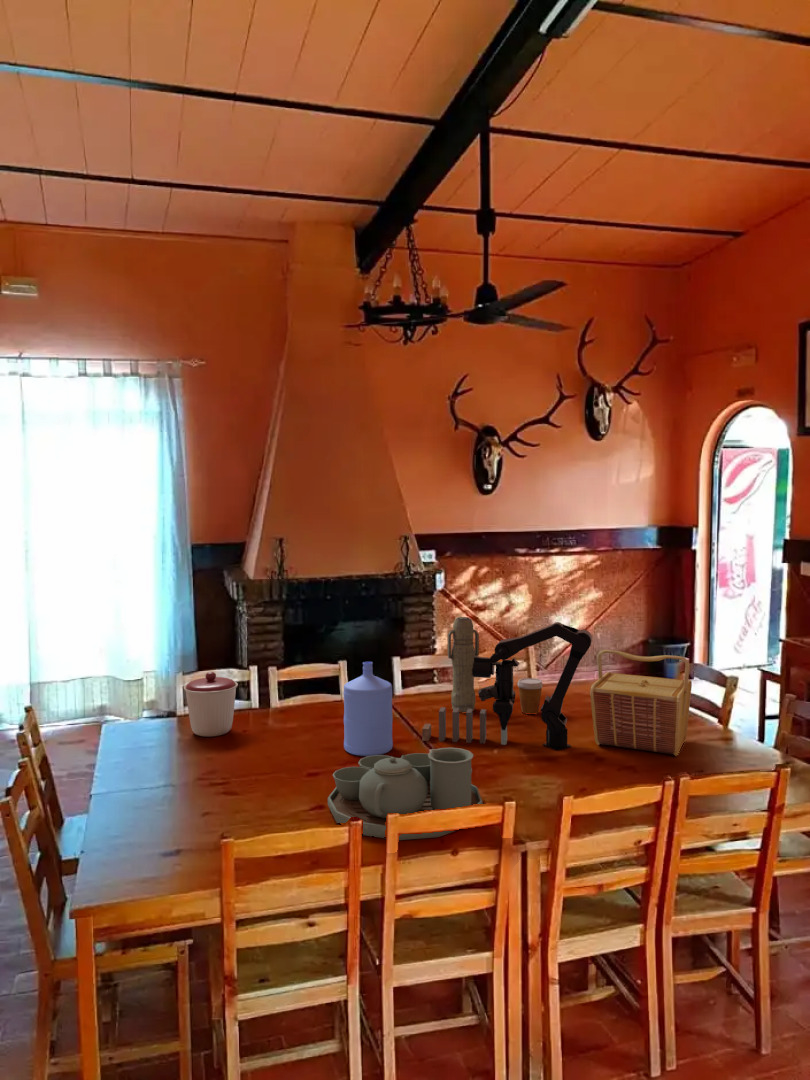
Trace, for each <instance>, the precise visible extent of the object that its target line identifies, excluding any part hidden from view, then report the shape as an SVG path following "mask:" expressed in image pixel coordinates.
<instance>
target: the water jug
mask: <svg viewBox="0 0 810 1080" xmlns="http://www.w3.org/2000/svg"><path fill="white" fill-rule="evenodd" d="M373 664H374V663H373V661H363V662H362V665H363V666H362V674H361V675H360V676H357V677H356V678H354V679H352V680H350V681H348V682H346V683H344V685H343V705H344V706H343V708H344V709H343V710H344V711H343V712H344V713H343V725H344V727H343V728H344V730H343V733H344V736H343V737H344V739H343V749H344V750H345V751H346V752H347V753H349V754H351V755H355V756H358V757H359V756H360V757H367V756H373V755H384V754H386V753H389V752H390V751H391V750H392V749H393V746H394V742H393V740H394V739H393V718H394V717H393V685H392V683H391V682H389V681H388V680H385V679H383V678H381V677H379V676H377V675H376V676H375V674H374V673H373V668H374V667H373Z"/></svg>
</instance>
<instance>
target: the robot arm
mask: <svg viewBox="0 0 810 1080" xmlns="http://www.w3.org/2000/svg"><path fill="white" fill-rule="evenodd" d="M556 637H557V638H559V639H561V640H563V641H565V642H566V643H569V644H571V647H570V651H569V655H568V659H567V661H566V663H565V665H564V667H563V670H562V673H561V675H560V677H559V679H558V681H557V683H556V686H555V688H554V691H553V692H552V694H551V696H549V695H546V696H545V698H544V702H543V704H542V705H541V707H540V708H539V711H540V718H541V721H542V722H543V723H544V724H545V725H546V730H545V743H543V744H542V745H543V746H544V747H546V748H550V749H552V750H555V751H559V750H564V749H568V748H571V747H572V745H571V744H569V743H568V728H567V727H566V725H567V722H568V717H566V716H565V715H564V713H562V709H563V703H564V699H565V696H566V694H567V691H568V689H569V687H570V685H571V682H572V680H573V678H574V676H575V673H576V671H577V669H578V666H579V663H580V661H582V659H583V657H584V656H585V655H586V653H587V652H588V650H589V649H590V647H591V646H592V641H593V636H592V633H591V632H589V630H587V629H579V628H576V627H574V626H569V625H566V624H563V623H562V622H560V621H556V622H553V623H552V624H549V625H547V626H544V627H542V628H540V629H537V630H535V631H531V632H529V633H526V634H524V635H521V636H516V637H510V638H504V639H501V640H500V641H499V642H498V643H497V644H496V645H495V647H494V653H492V654H491V655H490V657H489V656H487V657H486V656H484V657H483V656H480V655H478V656H475V657H474V662H473V668H472V675H473V677H474V678H481V679H483V678H484V679H485V678H486V679H491V678H492V676H494V675H495V680H494V684H493V685H489V686H486V687H485V686H484V687H483V688H480V689H478V691H477V693H478V698H479V699H480V701H481V702H485V701H486V700H489V699H492V698H493V699H494V701H493V702H492V703H493V704H492V711H493V713H495V714H497V716H498V718H499V724H500V729H501V728H502V730H505V729H506V727H507V728H508V723H509V722H510V719H511V716H512V715H513V711H514V710H513V709H514V705H515V703H516V702H515V701H516V690H514V683H515V681H514V667H516V668H517V667H518V666H519V665H520V662H519V661H518V660H517V659H516V657H514V656H515V655H516V654H518V653H520V652H521V651H523V650H525V649H526V648H527V649H528V648H529V647H531V646H534V645H537V644H540V643H543V642H545V641H547V640H550V639H552V638H556ZM511 657H512V659H510V658H511ZM500 660H502V661H500Z"/></svg>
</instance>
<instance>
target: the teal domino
mask: <svg viewBox="0 0 810 1080" xmlns="http://www.w3.org/2000/svg"><path fill="white" fill-rule="evenodd" d="M507 743H508V726H507V727H506V729H505V730H502V728H501V727H500V744H501V745H503V746H505V745H506V746H507Z"/></svg>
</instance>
